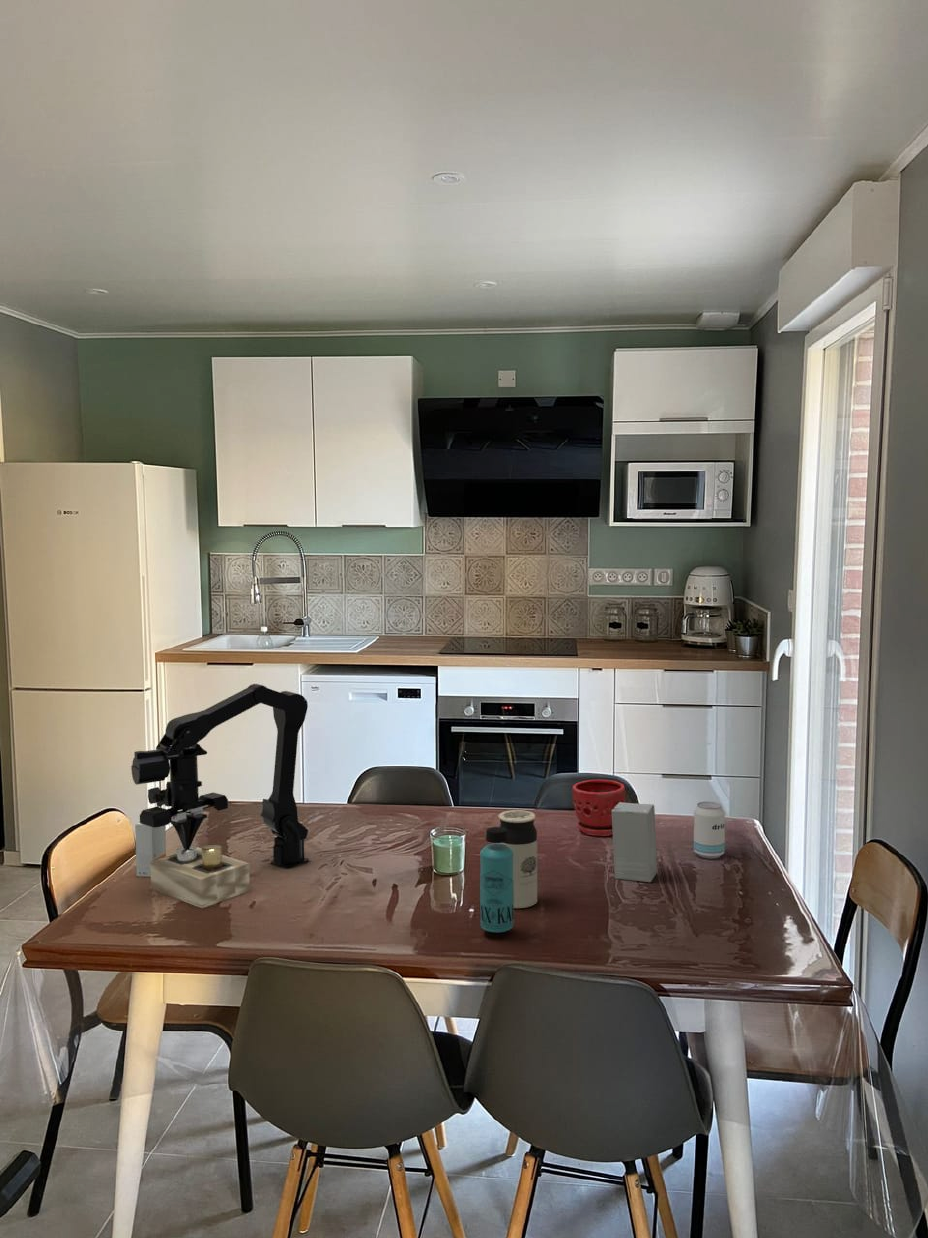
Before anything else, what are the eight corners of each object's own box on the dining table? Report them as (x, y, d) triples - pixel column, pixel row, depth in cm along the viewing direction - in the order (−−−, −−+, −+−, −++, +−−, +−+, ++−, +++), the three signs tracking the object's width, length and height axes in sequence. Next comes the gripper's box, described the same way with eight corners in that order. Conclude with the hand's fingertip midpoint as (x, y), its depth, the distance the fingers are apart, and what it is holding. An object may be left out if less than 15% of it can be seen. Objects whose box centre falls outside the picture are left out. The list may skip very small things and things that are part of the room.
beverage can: (713, 862, 210) (713, 810, 209) (687, 855, 215) (688, 804, 214) (730, 855, 214) (730, 805, 214) (704, 848, 220) (705, 799, 219)
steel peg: (189, 866, 202) (188, 844, 202) (200, 870, 200) (199, 848, 199) (173, 872, 199) (173, 849, 199) (184, 875, 197) (184, 852, 196)
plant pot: (588, 821, 243) (587, 776, 243) (633, 829, 236) (633, 783, 235) (563, 833, 233) (563, 786, 232) (610, 842, 225) (610, 794, 224)
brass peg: (214, 867, 196) (213, 844, 196) (226, 870, 194) (225, 847, 194) (198, 872, 193) (197, 848, 193) (210, 876, 191) (209, 852, 190)
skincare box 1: (153, 878, 205) (151, 825, 204) (136, 876, 205) (134, 824, 205) (167, 868, 211) (165, 817, 210) (150, 867, 211) (148, 816, 211)
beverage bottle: (478, 927, 175) (476, 824, 174) (512, 925, 176) (511, 822, 174) (481, 941, 169) (480, 834, 167) (517, 940, 169) (516, 833, 168)
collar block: (198, 873, 207) (197, 847, 207) (249, 891, 196) (248, 863, 195) (151, 889, 198) (150, 861, 197) (201, 908, 186) (200, 879, 186)
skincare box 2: (657, 874, 203) (657, 803, 202) (649, 885, 196) (649, 812, 195) (619, 869, 206) (619, 799, 205) (611, 879, 200) (610, 807, 199)
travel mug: (491, 898, 190) (490, 812, 189) (526, 892, 193) (525, 807, 192) (508, 912, 183) (507, 822, 181) (544, 905, 186) (543, 817, 184)
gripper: (198, 764, 210) (200, 831, 211) (123, 780, 196) (126, 852, 197) (228, 770, 203) (231, 840, 204) (153, 788, 189) (156, 863, 190)
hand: (186, 848), depth 199 cm, fingers closed, pressing on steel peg
